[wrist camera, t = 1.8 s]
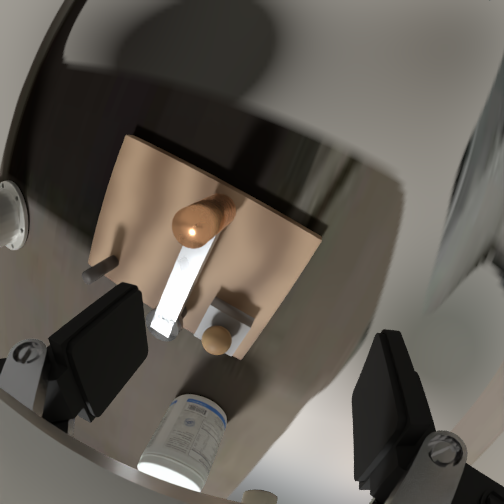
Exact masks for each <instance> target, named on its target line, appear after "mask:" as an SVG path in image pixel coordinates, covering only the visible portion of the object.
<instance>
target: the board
mask: <svg viewBox="0 0 504 504" xmlns="http://www.w3.org/2000/svg"><path fill="white" fill-rule="evenodd" d="M214 194H224V195H227V196H228V197H230V198H231V199H232V201H233V202H234V204H235V207H236V215H235V217H234V219H233V221H232V222H231V223H230V224H229V225H227V226H226V227H225V228H224V229H223V230H222V231H221V233H220V235H219V237H218V239H217V241H216V243H215V245H214V247H213V249H212V251H211V253H210V255H209V257H208V259H207V261H206V263H205V265H204V267H203V269H202V271H201V273H200V275H199V277H198V280H197V282H196V284H195V286H194V288H193V290H192V292H191V294H190V296H189V298H188V301H187V303H186V305H185V307H184V309H183V311H182V313H181V316H182V319H183V328H185V329H187V330H188V331H190V332H192V333H193V334H194V336H195V337H197V338H199V339H201V340H202V345H203V347H204V348H205V350H206V351H207V352H209V353H211V354H213V355H221V354H223V353H225V354H227V355H229V356H231V357H232V356H234V357H236V358H238V359H240V360H242V358H243V357H244V355H245V354H246V353H247V351H248V350H249V348H250V347H251V346H252V344H253V343H254V341H255V340H256V339H257V337H258V336H259V334H260V333H261V331H262V330H263V329H264V327H265V326H266V324H267V323H268V321H269V320H270V319H271V317H272V316H273V314H274V313H275V311H276V310H277V308H278V307H279V305H280V304H281V302H282V301H283V299H284V298H285V297H286V295H287V294H288V292H289V291H290V289H291V288H292V286H293V285H294V283H295V282H296V280H297V278H298V277H299V275H300V274H301V272H302V271H303V269H304V268H305V266H306V265H307V263H308V262H309V260H310V259H311V257H312V255H313V254H314V252H315V251H316V249H317V248H318V246H319V244H320V243H321V241H322V237H321V236H320V235H318V234H316V233H315V232H313V231H311V230H310V229H308V228H306V227H305V226H303V225H301V224H299V223H298V222H296V221H294V220H293V219H291V218H289V217H287V216H286V215H284V214H282V213H280V212H279V211H277V210H275V209H273V208H272V207H270V206H268V205H266V204H264V203H263V202H261V201H259V200H257V199H256V198H254V197H252V196H250V195H248V194H246V193H245V192H243V191H241V190H239V189H237V188H236V187H234V186H232V185H230V184H228V183H226V182H224V181H223V180H221V179H219V178H217V177H215V176H213V175H211V174H209V173H208V172H206V171H204V170H202V169H200V168H198V167H196V166H194V165H192V164H190V163H188V162H186V161H184V160H182V159H181V158H179V157H177V156H175V155H173V154H171V153H169V152H167V151H165V150H163V149H161V148H159V147H157V146H155V145H153V144H151V143H149V142H146V141H144V140H142V139H140V138H138V137H136V136H134V135H126V136H125V139H124V142H123V144H122V147H121V150H120V152H119V155H118V158H117V161H116V163H115V166H114V169H113V172H112V175H111V178H110V181H109V185H108V188H107V191H106V194H105V198H104V201H103V205H102V208H101V212H100V215H99V219H98V223H97V227H96V231H95V235H94V239H93V243H92V247H91V252H90V256H89V261H88V264H90V265H91V266H92V267H91V268H89V269H87V270H86V271H84V272H83V273H82V278H83V280H84V282H85V283H86V284H91V283H93V282H94V281H96V280H97V279H99V278H100V277H102V276H103V275H105V276H106V277H107V278H109V279H110V280H112V281H113V282H115V283H116V284H117V285H118V284H119V283H121V282H125V283H129V284H134V285H136V286H138V288H139V290H140V291H141V292H142V298H143V302H144V303H145V304H147V305H148V306H150V307H152V308H154V307H155V306H157V305H158V304H159V302H160V299H161V297H162V294H163V292H164V289H165V287H166V285H167V282H168V280H169V277H170V275H171V272H172V270H173V268H174V265H175V263H176V260H177V258H178V256H179V253H180V251H181V249H182V246H183V245H181V244H180V243H179V242H178V241H177V240H176V238H175V236H174V234H173V231H172V220H173V218H174V215H175V214H176V213H177V212H178V211H179V210H180V209H182V208H184V207H186V206H189V205H191V204H193V203H195V202H198V201H200V200H202V199H204V198H207V197H209V196H211V195H214Z"/></svg>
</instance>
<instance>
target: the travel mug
mask: <svg viewBox="0 0 504 504" xmlns="http://www.w3.org/2000/svg"><path fill="white" fill-rule="evenodd" d="M241 503H245V504H276V503H277V496H276V495H274V494H272V493H270V492H267V491H264V490H248V491H245V492H244V494H243V498H242V501H241Z"/></svg>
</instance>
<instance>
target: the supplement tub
mask: <svg viewBox="0 0 504 504" xmlns="http://www.w3.org/2000/svg"><path fill="white" fill-rule="evenodd" d="M226 424H227V417H226V415H225V413H224V411H223V410H222V409H221V408H220V407H219V406H218V405H217V404H216V403H214V402H213V401H211V400H209V399H207V398H205V397H202V396H199V395H194V394H185V395H181V396H178V397H177V398H175V399H174V400H173V402H172V403H171V405H170V407H169V409H168V410H167V412H166V414H165V416H164V417H163V419H162V421H161V423H160V424H159V426H158V428H157V430H156V431H155V433H154V435H153V437H152V438H151V440H150V442H149V443H148V445H147V447H146V449H145V450H144V452H143V454H142V456H141V458H140V461H139V463H138V465H137V466H138V470H139V471H141V472H143V473H146V474H148V475H151V476H153V477H156V478H158V479H161V480H164V481H167V482H169V483H172V484H175V485H178V486H181V487H184V488H187V489H190V490H194V491H197V492H201V490H202V488H203V487H204V485H205V482H206V480H207V477H208V475H209V472H210V469H211V467H212V464H213V461H214V458H215V456H216V453H217V450H218V447H219V444H220V442H221V439H222V436H223V433H224V430H225V427H226Z"/></svg>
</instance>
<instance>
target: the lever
mask: <svg viewBox="0 0 504 504" xmlns="http://www.w3.org/2000/svg"><path fill="white" fill-rule="evenodd" d="M235 215H236V207H235V204H234V202H233V201H232V199H231V198H230V197H228V196H227V195H224V194H214V195H211V196H209V197H207V198H204V199H202V200H200V201H198V202H195V203H193V204H191V205H189V206H186V207H184V208H182V209H180V210H179V211H178V212H177V213H176V214H175V215H174V218H173V220H172V231H173V234H174V236H175V238H176V240H177V241H178V242H179V243H180V244H181V245H183V246H182V249H181V251H180V253H179V256H178V258H177V260H176V263H175V265H174V268H173V270H172V272H171V275H170V277H169V280H168V282H167V285H166V287H165V289H164V292H163V294H162V297H161V299H160V302H159V304H158V305H157V306H155V307H154V308H153V309H152V310H151V311H150V312H149V313H148V315H147V317H146V325H147V328H148V329H149V331H150V332H151V333H152V335H154V336H155V337H156V338H158V339H160V340H163V341H171V340H173V339H175V338H176V336H177V335H178V334H179V332H180V331H181V330H182V328H183V319H182V316H181V313H182V311H183V309H184V307H185V305H186V303H187V301H188V298H189V296H190V294H191V292H192V290H193V288H194V286H195V284H196V282H197V280H198V277H199V275H200V273H201V271H202V269H203V267H204V265H205V263H206V261H207V259H208V257H209V255H210V253H211V251H212V249H213V247H214V245H215V243H216V241H217V239H218V237H219V235H220V233H221V231H222V230H223V229H224V228H225V227H226V226H227V225H229V224H230V223H231V222H232V221H233V219H234V217H235Z"/></svg>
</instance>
